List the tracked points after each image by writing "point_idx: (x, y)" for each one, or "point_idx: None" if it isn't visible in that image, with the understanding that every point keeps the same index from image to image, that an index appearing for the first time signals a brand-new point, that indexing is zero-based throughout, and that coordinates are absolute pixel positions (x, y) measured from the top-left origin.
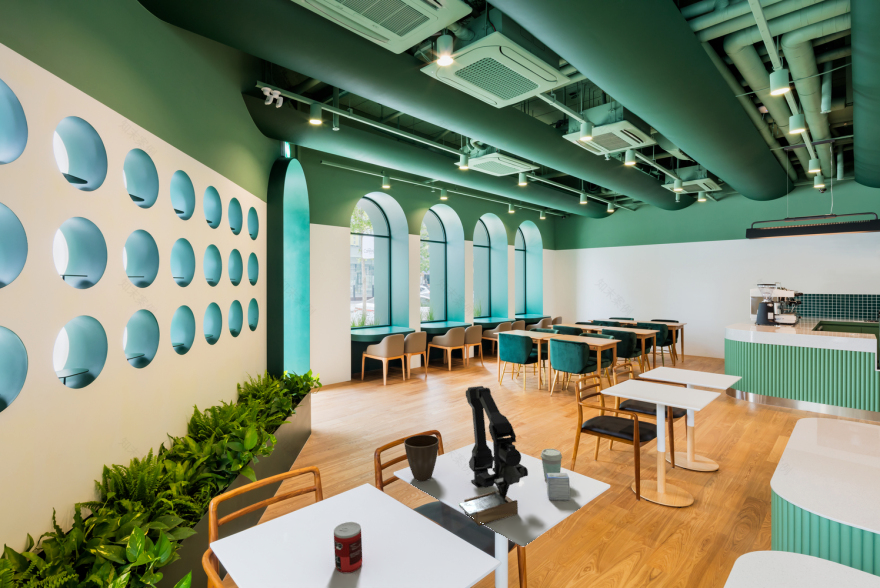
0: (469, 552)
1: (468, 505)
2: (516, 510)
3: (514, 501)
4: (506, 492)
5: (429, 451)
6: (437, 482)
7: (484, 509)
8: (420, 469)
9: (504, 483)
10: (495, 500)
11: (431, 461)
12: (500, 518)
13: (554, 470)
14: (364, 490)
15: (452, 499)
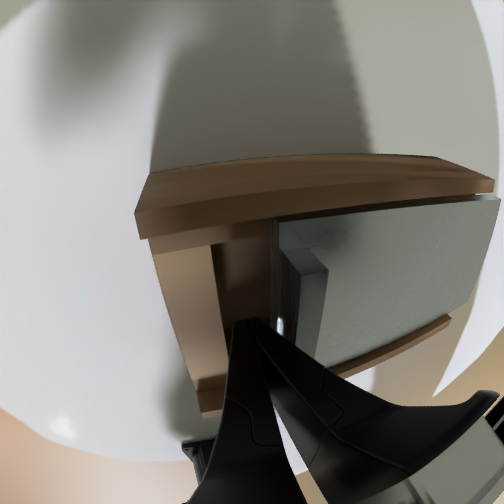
0: (490, 48)
1: (464, 277)
2: (161, 178)
3: (182, 208)
4: (240, 366)
5: None
6: None
7: (471, 193)
8: None
9: (437, 452)
10: (340, 301)
11: None
12: (321, 156)
13: None
14: (441, 387)
15: (371, 374)
